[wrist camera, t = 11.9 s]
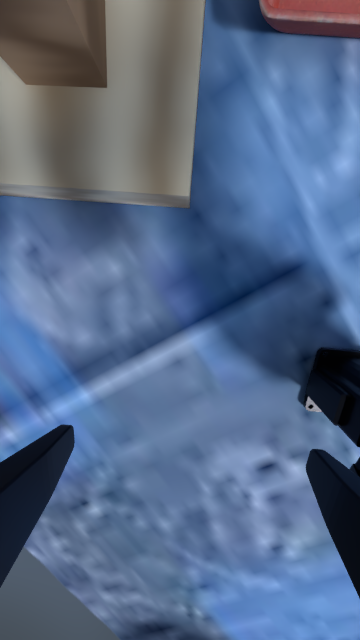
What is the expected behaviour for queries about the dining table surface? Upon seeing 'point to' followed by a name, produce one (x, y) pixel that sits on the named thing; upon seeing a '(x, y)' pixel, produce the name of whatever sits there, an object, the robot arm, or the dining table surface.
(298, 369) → the dining table surface
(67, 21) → the walnut block
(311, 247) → the dining table surface
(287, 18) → the plant saucer
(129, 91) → the birch base
